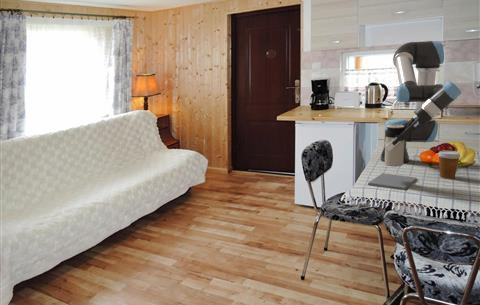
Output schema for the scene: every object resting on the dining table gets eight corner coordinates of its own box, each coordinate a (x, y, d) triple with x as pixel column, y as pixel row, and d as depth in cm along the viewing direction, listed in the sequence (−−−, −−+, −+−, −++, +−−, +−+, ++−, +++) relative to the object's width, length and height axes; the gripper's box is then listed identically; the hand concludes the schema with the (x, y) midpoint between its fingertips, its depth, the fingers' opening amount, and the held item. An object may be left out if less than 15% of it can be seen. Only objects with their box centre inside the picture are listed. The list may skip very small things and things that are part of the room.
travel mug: (405, 166, 187) (407, 126, 184) (387, 167, 188) (389, 127, 184) (399, 162, 195) (401, 124, 192) (382, 163, 195) (383, 124, 192)
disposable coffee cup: (445, 180, 194) (447, 155, 192) (432, 175, 203) (433, 151, 201) (463, 178, 196) (465, 153, 194) (449, 173, 205) (451, 149, 203)
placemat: (382, 175, 206) (382, 173, 206) (416, 179, 197) (416, 177, 197) (367, 184, 190) (368, 182, 190) (404, 190, 181) (404, 187, 181)
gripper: (436, 120, 173) (393, 157, 181) (429, 115, 193) (391, 148, 200) (423, 108, 174) (381, 145, 181) (417, 103, 193) (379, 137, 201)
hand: (386, 147), depth 191 cm, fingers closed on travel mug, 8 cm apart
